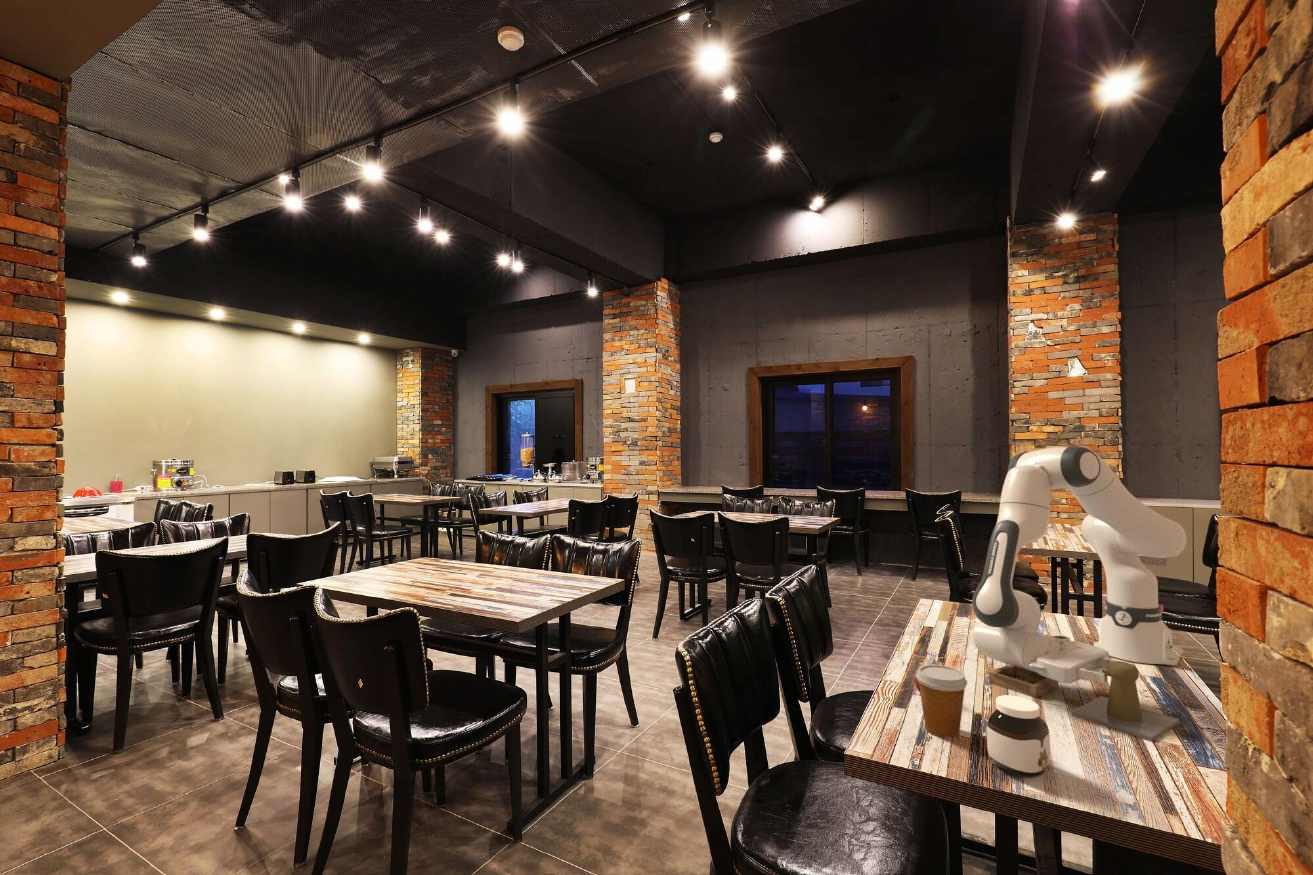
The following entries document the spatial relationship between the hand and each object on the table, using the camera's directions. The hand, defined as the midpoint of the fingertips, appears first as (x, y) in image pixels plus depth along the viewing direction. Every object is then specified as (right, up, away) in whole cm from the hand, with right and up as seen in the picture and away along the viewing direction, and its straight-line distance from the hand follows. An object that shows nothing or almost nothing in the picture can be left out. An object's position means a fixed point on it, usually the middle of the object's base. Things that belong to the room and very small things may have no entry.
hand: (1115, 673), depth 128 cm
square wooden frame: (-9, -9, +17) cm, 22 cm away
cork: (+1, -8, -1) cm, 9 cm away
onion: (-36, -10, +10) cm, 38 cm away
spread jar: (-33, -9, -18) cm, 38 cm away
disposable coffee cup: (-40, -10, -6) cm, 42 cm away
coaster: (+1, -9, -1) cm, 9 cm away
